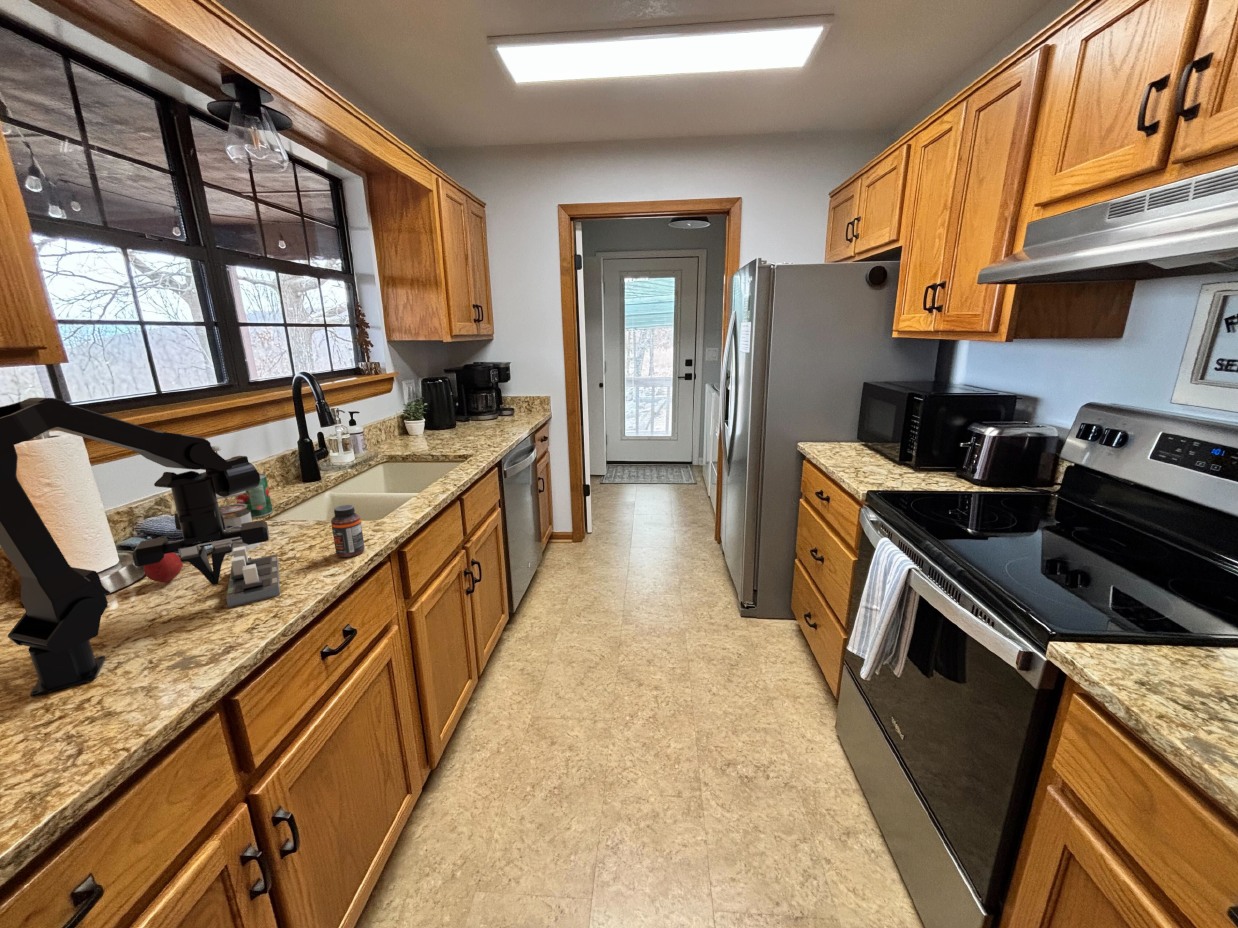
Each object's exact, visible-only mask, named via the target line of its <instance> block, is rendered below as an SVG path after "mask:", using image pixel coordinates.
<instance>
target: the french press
mask: <svg viewBox="0 0 1238 928" xmlns="http://www.w3.org/2000/svg"><path fill="white" fill-rule="evenodd" d="M211 447H212V449H213V450H214V451H215V452H216V453H217V454H218V455H219V453H218V452H219V451H220V452H221V451H222V447H221V446H219V445H213V446H212V445H211ZM245 492H246V491H243V492H240V493H237V494H233V495H230V496H226V497H222V496H219V495H218V494H216V498H217V500H220V499H226V505H223V506H218V507H219V511H221V512H222V515H223V518H224V522H225V527H226V529H225V530H224V532H229V531H234V530H240V529H241V524H243V523H248V522H253V518H251V513H250V511H249V510H246V508H247V506H248V505H246V504H237V503H236V504H234V503H232V504H230V503H229V500H228V499H229V498H235V496H238V495H241V494H243V493H245ZM230 515H238V516H230ZM240 515H241V517H240ZM228 516H230V517H228ZM226 517H227V518H226ZM225 518H226V519H225ZM233 543H234V544H233V548H237V547H242V546H245V547H246V552H247V551H250V550H252V549H255V548H257V547H259V546H260V545H261V544H262V542H261V543H256V544H251V545H248V544H246V543H244V542H242V539H241V540H236V541H233ZM226 555H227V556H228V555H234V554H233V550H232V552H230V553H227V554H225V556H226Z"/></svg>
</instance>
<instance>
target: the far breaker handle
mask: <svg viewBox="0 0 1238 928" xmlns="http://www.w3.org/2000/svg"><path fill="white" fill-rule="evenodd" d="M232 555H233V558H235V557H240V556H244V557H245V562H246V566H247V565H251V561H252V560H251V559H252V557H249V556H248V552H247V551H246V547H245V546H242V547H237V548H233V554H232Z"/></svg>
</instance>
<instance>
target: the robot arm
mask: <svg viewBox="0 0 1238 928" xmlns="http://www.w3.org/2000/svg"><path fill="white" fill-rule="evenodd" d="M49 430H56V431H58V432H63V433H66V434H69V435H74V436H77V437H81V438H86V439H89V440H93V441H96V442H99V443H103V444H107V445H110V446H115V447H119V448H122V449H126V450H130V451H132V452H134V453H137V454H138V455H140V456H142V457H143V458H145V459H147V460H149V461H151V462H153V463H156V464H157V465H160V466H163V467H166V468H170V469H182V470H189V471H185V472H180V473H176V472H173V471H172V472H171V471H164V472H163V473H162V475H161V477H159V478H158V479H157V480H156V481H155V482H154V484H153V485H154V487H156V488H166V489H167V488H168V489H171V492H172V498H173V501H174V505H175V509H176V512H175V513H174V526H175V529H176V530H177V531H181V533H182V534H181V535H182V537H183V539H180V540H179V539H178V540H174V541H169V538H168V537H167V536H163V537H158V538H151V539H145V540H140V542H139V543H138V544H137V545H136V547H135V548H134V550H133V552H132V559H133V563H134V566H135V567H144V565H148V564H153V563H158V562H160V561H161V560H162V559H163V558H164V554H167V553H172V552H173V553H177V552H178V553H179V554H180V561H181V562H183V563H186V562H188V563H189V564H190V565H192V567H194V568H195V569H196V570H198V571H199V572H200V573H201V574H202V575H203V576H204V577H205V579H206V580H207V581H209V583H210V584H211V585H212V586H215V585H219V584H220V583H219V582H220V575H221V569H222V565H223V562H224V559H225V556H226V555H225V554H227V553H230V552H232V550H233V544H234V543H233V541H236V540H241V539H242V542H244V543H246V544H248V545H251V544H256V543H261V544H262V543H265V542H268V541H269V540H270V536H269V535H270V533H269V527H268V523H267V521H266V520H264V519H260V520H255V521H254V520H253V521H252V522H248V523H243V524H241V526H240V527H241V529H240V530H234V531H229V532H224V531H225V529H226V528H227V527H225V522H224V520H225V517H224V518H223V515H222V512H221V511H219V507H220V506H219V504H218V503H219V502H218V499H217V498H216V494H218V495H219V496H222V497H226V496H230V495H233V494H237V493H240V492H243V491H247V490H250V489H253V488H256V487H257V486H258V485H259V483H260V475H259V474H260V472H259V471H258V470H257V468H256V467H255V465H254V464H252V463H251V462H249V458H248V456H246V455H236V456H233V457H230V458H228V459H225V458H224V457H222V456H221V455H220V454H219V453H218V452H217V453H218V454H217V453H216V451H214V450H213V449H212V445H211V444H212V443H211V442H210V441H209V440H208V439H206V438H204V437H200V436H194V435H189V434H182V433H175V432H168V431H159V430H153V429H150V428H147V427H145V426H144V427H143V426H140V425H138V424H134V423H131V422H129V421H126V420H121V419H118V418H115V417H112V416H110V415H106V414H102V413H101V412H100V413H99V412H96V411H93V410H90V409H87V408H83V407H80V406H77V405H73V404H71V403H69V402H67V401H65V400H64V399H60V398H55V397H29V398H26V399H24V400H22V401H18V402H14V403H11V404H7V405H3V406H2V405H1V406H0V547H1V549H2V550H3V551H4V553H5V555H6V556H7V557H8V560H9V561H10V562H11V564H12V565H13V567H14V568H15V570H16V572H17V573H18V575H19V576H20V579H21V584H20V585H21V587H20V598H21V602H22V605H23V608H24V610H25V612H24V614H23V615H22V616H21V617H20V618H19V620H18V621H17V622H16V624H15V625H14V626H13V628H12V629H11V630H10V631H9V633H8V634H7V638H9V639H10V640H11V641H12V642H13V643H14V644H15V645H17V646H25V647H28V653H29V656H30V658H31V661H32V664H33V667H34V670H35V672H36V673H35V674H36V676H37V678H38V679H37V680H38V681H37V683H36V684H35V685H34V687H33V688H32V689H31V691H30V693H29V696H30V697H31V698H34V697H38V696H41V695H42V696H43V695H45V694H48V693H49V694H50V693H52V692H53V693H54V692H56V691H60V690H63V689H67V688H70V687H74V686H77V685H82V684H86V683H89V682H92V681H94V680H96V679H97V676H98V675H99V673H100V671H101V669H102V667H103V665H104V663H105V661H106V659H107V657H106V656H105V655H100V656H97V657H95V653H94V651H93V647H92V644H91V641H90V640H92V639H94V638H96V637H97V636H98V635H99V630H100V625H101V619H102V616H103V615H104V614H105V613H104V612H105V611H106V609H107V608H108V604H109V602H108V599H107V597H106V595H109V594H110V593H111V591H109V590H108V589H106V588H105V587H104V586H103V584H102V582H101V579H100V575H99V573H98V572H97V570H93V569H92V570H91V569H86V568H79V567H74V566H71V564H69V562H68V561H67V560H66V558H65V556H64V554H63V552H62V551H61V549H60V547H59V546H58V545H57V543H56V541H55V539H54V538H53V536H52V535H51V532H50V531H49V529H48V528H47V525H45V522H44V521H43V520H42V519H43V518H41V516H40V514H39V512H38V511H37V509H36V508H35V506H34V505H33V503H32V501H31V499H30V497H28V494H27V492H26V491H25V490H24V488H23V486H22V484H21V483H20V481H19V479H18V477H17V473H18V472H17V471H18V458H19V456H18V453H17V449H16V447H15V445H18V444H20V443H24V442H27V441H29V440H32V439H34V438H36V437H38V436H40V435H42V434H44V433H46V432H47V431H49ZM198 470H205V471H204V472H201V473H199V471H198ZM197 471H198V472H197ZM209 546H211V547H212V550H211V552H212V553H211V562H210V560H209V558H208V555H207V552H206V547H209ZM211 565H212V566H211Z"/></svg>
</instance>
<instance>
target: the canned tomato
mask: <svg viewBox="0 0 1238 928" xmlns="http://www.w3.org/2000/svg"><path fill="white" fill-rule="evenodd" d="M259 475H260V483H259V485H258V486H257V487H256V488H253V489H250V490H247V491H246V492H245V493H243V494H241V495H238V496H234V498H235V501H236V504H246V505H248V506H247V508H246V510H249V511H250V513H251V518H252V519H256V518H261V517H265V516H268V515H270V514H272V513H273V512H274V509H273V505H272V500H271V494H270V490H269V485H268V480H267V474H264V473H259ZM239 517H241V515H239Z"/></svg>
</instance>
